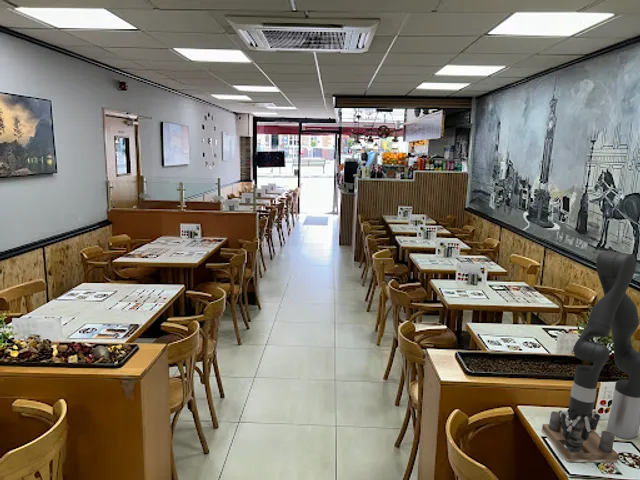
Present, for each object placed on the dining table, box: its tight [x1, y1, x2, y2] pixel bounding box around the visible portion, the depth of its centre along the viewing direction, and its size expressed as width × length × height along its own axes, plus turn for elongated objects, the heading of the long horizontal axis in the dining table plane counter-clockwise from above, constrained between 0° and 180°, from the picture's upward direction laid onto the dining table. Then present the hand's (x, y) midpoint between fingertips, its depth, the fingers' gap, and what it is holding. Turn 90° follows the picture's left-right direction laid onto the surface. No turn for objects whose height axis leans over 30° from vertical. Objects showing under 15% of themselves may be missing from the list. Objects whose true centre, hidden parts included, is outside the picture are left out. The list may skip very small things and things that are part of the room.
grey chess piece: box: [565, 421, 584, 451], centre depth 172 cm, size 6×6×12 cm
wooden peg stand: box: [541, 410, 620, 464], centre depth 177 cm, size 18×18×9 cm
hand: (574, 439), depth 172 cm, fingers closed on grey chess piece, 6 cm apart
